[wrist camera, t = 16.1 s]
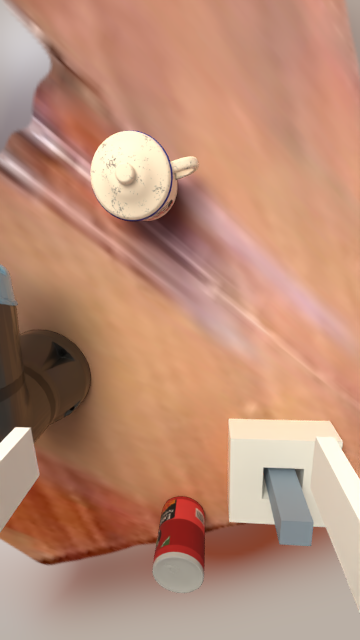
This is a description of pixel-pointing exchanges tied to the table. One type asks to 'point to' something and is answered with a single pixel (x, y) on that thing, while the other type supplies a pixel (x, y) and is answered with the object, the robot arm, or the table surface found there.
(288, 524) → the peg
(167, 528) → the canned food
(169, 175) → the teacup with lid
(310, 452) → the socket block
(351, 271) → the table surface
